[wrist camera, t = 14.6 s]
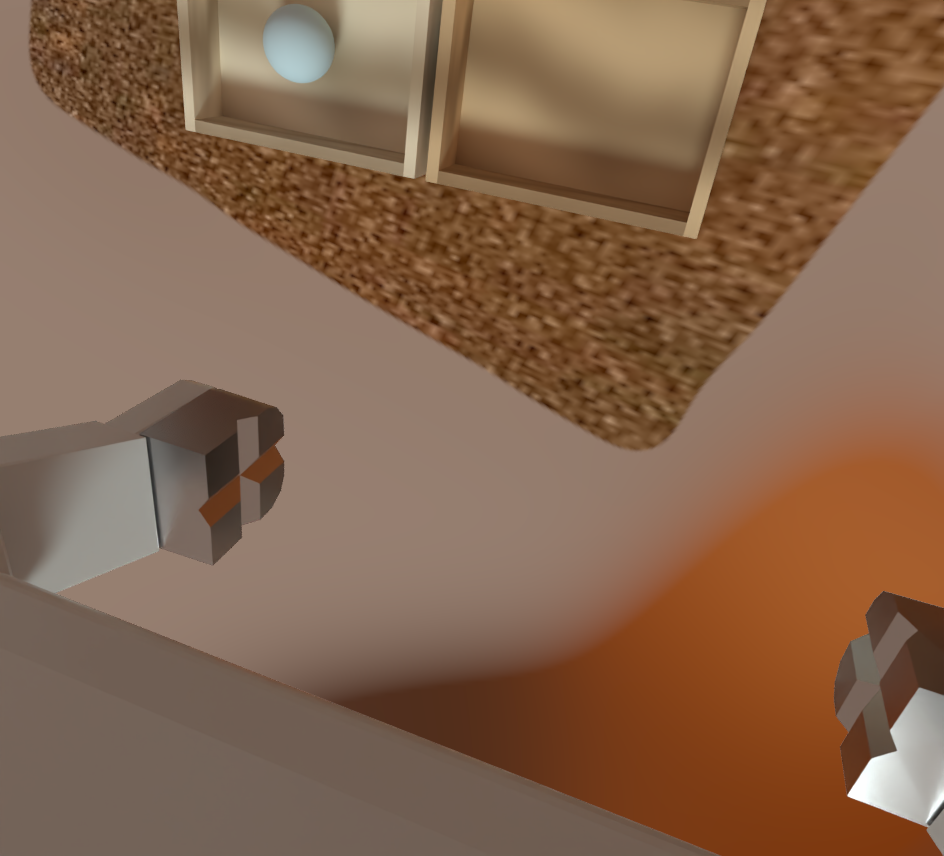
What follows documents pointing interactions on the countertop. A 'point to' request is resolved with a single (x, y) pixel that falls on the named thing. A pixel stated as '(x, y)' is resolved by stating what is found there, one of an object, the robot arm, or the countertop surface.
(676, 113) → the box near
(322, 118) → the box far
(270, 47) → the ball
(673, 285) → the countertop surface
